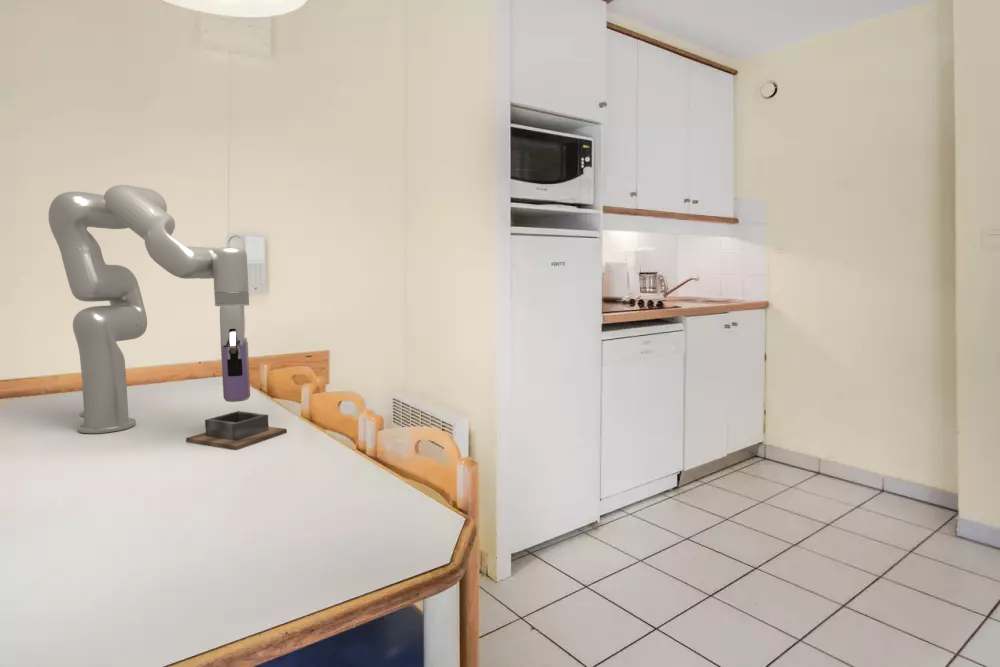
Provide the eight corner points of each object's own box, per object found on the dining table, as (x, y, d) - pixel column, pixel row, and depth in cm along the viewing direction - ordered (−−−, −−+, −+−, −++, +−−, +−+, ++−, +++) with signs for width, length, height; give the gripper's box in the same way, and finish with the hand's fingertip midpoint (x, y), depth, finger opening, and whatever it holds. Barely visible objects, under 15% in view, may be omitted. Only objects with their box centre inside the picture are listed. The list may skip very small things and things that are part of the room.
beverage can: (240, 402, 141) (237, 340, 140) (218, 401, 142) (215, 339, 141) (255, 397, 147) (252, 337, 146) (234, 396, 148) (231, 337, 147)
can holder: (186, 442, 142) (185, 421, 141) (239, 426, 156) (238, 407, 156) (236, 450, 135) (235, 428, 135) (286, 432, 150) (286, 413, 149)
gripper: (217, 298, 149) (221, 369, 151) (211, 301, 133) (216, 380, 135) (249, 297, 152) (253, 367, 153) (248, 300, 136) (252, 378, 137)
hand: (235, 373), depth 144 cm, fingers closed on beverage can, 5 cm apart
